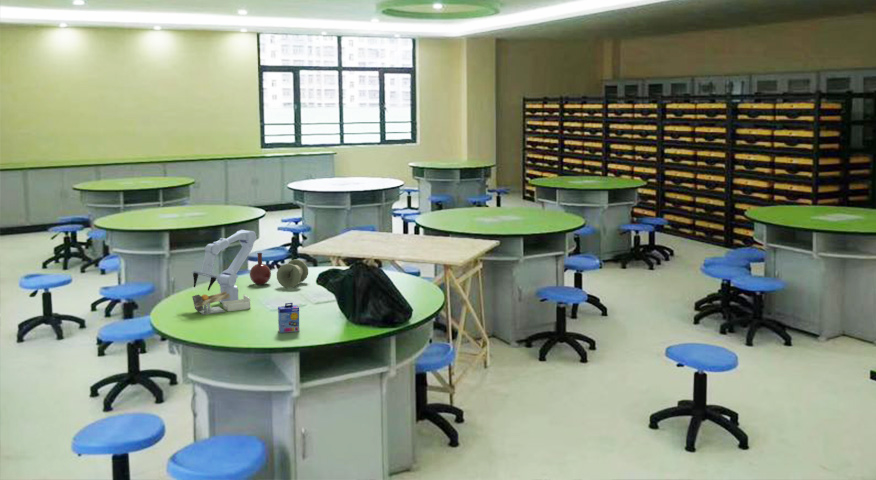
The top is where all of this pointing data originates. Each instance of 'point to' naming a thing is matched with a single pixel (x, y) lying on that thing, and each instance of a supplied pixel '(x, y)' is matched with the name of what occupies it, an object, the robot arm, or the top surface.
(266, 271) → the round-bottom flask
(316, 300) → the top surface
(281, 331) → the ink cartridge box
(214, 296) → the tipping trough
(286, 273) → the spool
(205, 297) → the ball
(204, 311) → the lever stand
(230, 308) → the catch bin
